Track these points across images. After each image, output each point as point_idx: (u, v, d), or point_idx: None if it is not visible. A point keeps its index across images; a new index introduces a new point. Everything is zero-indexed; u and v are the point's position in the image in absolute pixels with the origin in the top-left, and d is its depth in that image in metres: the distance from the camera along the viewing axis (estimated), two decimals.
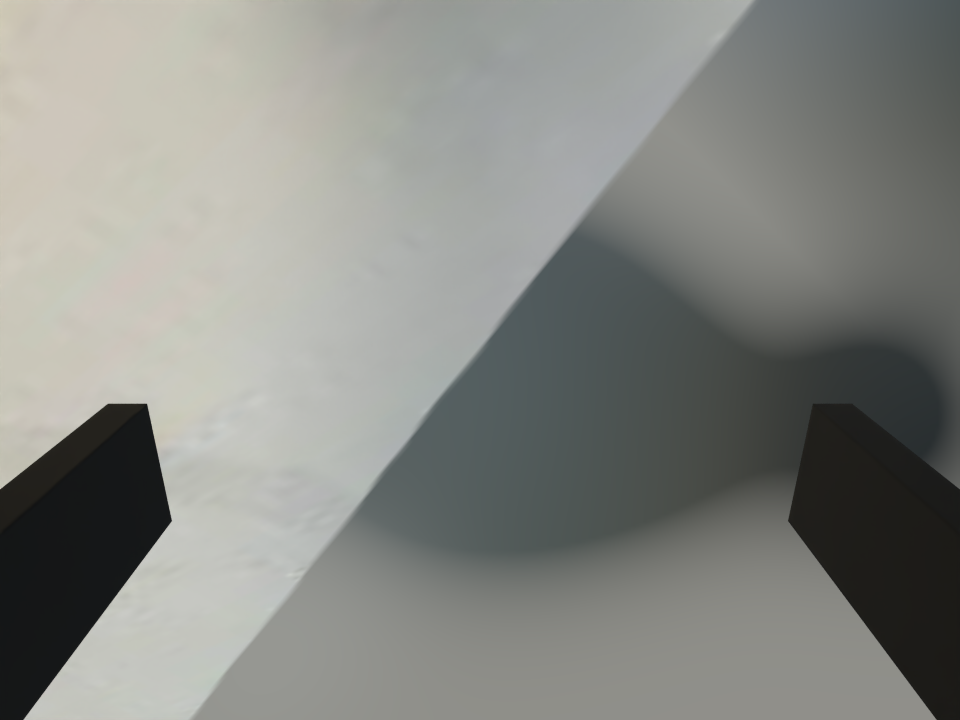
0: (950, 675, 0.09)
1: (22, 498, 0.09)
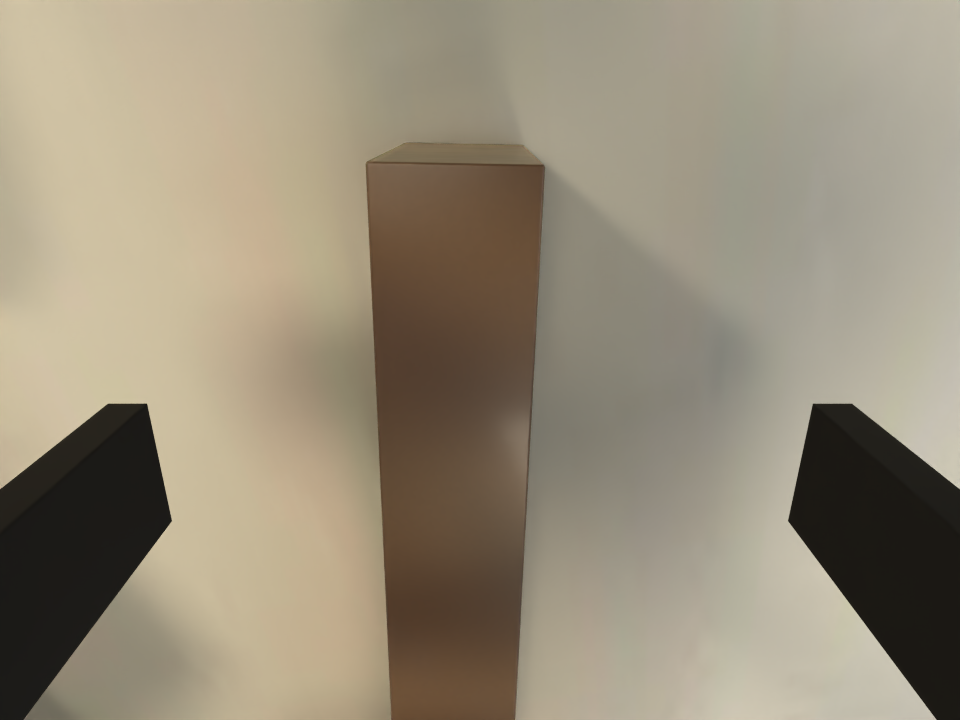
0: (950, 675, 0.09)
1: (22, 498, 0.09)
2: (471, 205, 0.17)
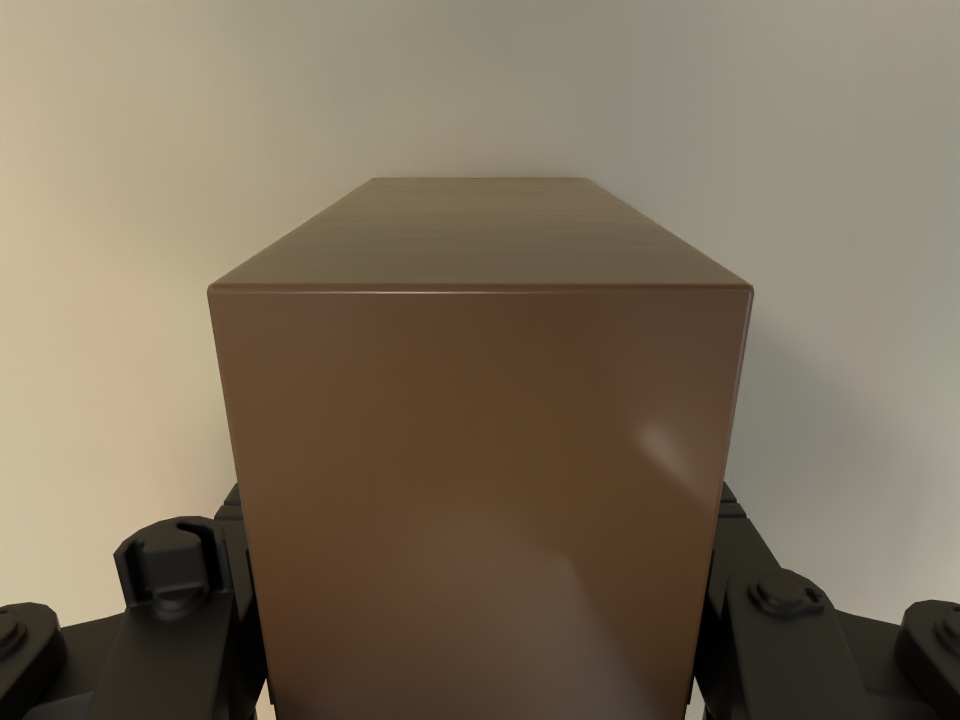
0: None
1: None
2: (529, 401, 0.06)
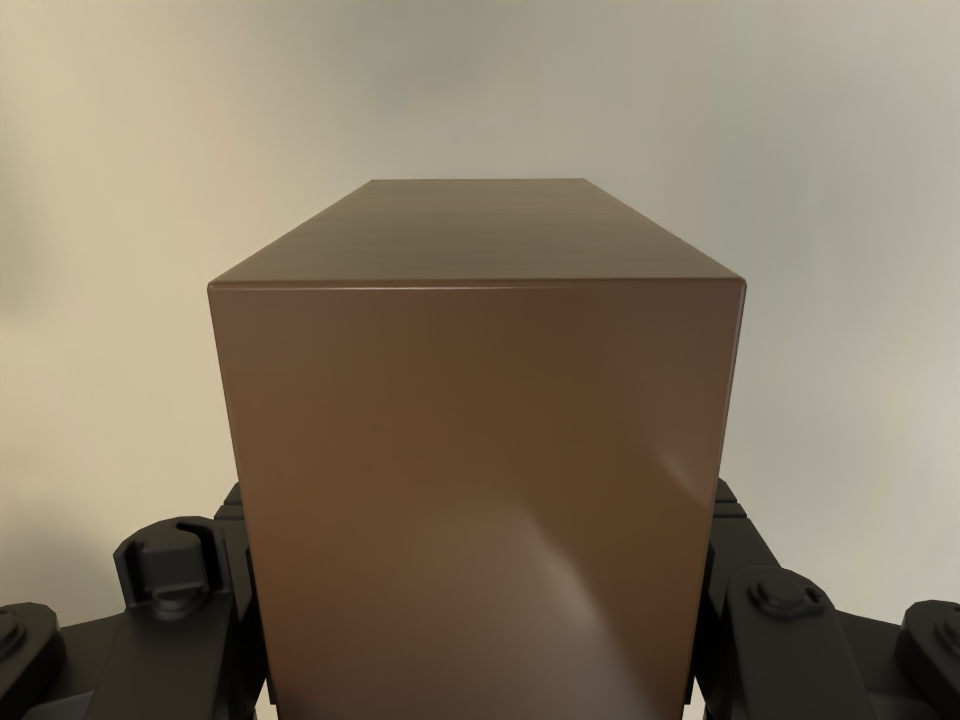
0: None
1: None
2: (526, 394, 0.06)
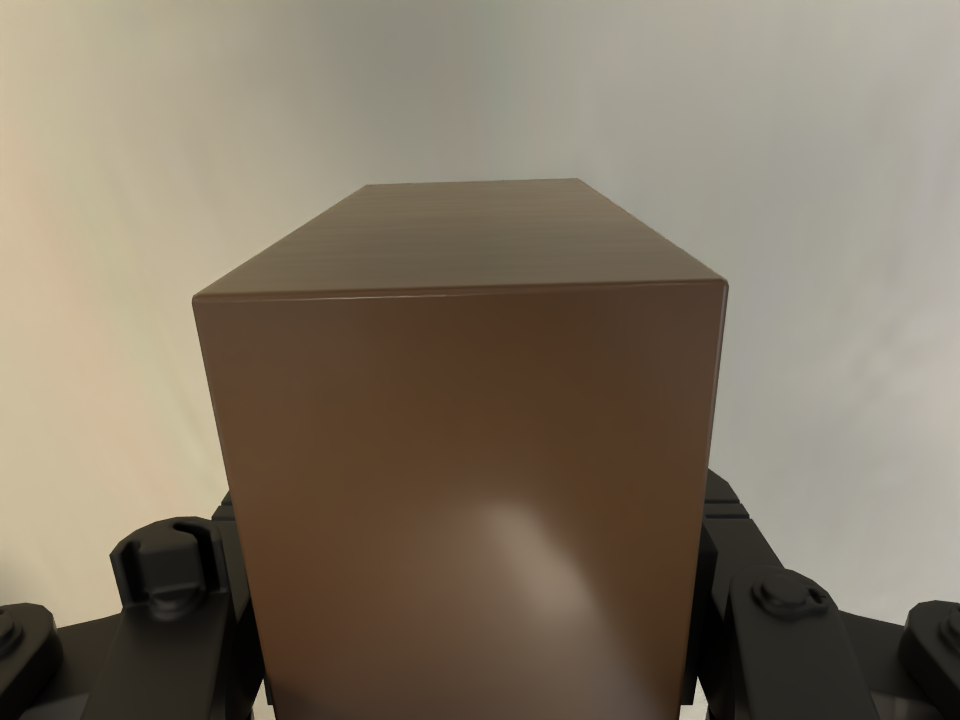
0: None
1: None
2: (511, 400, 0.06)
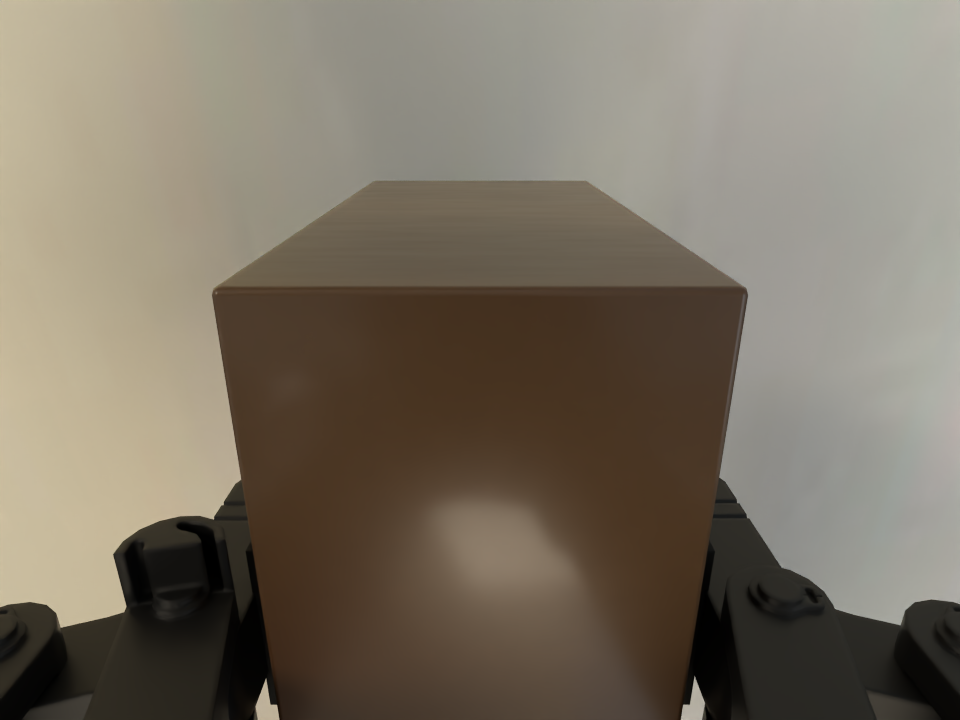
0: None
1: None
2: (528, 401, 0.06)
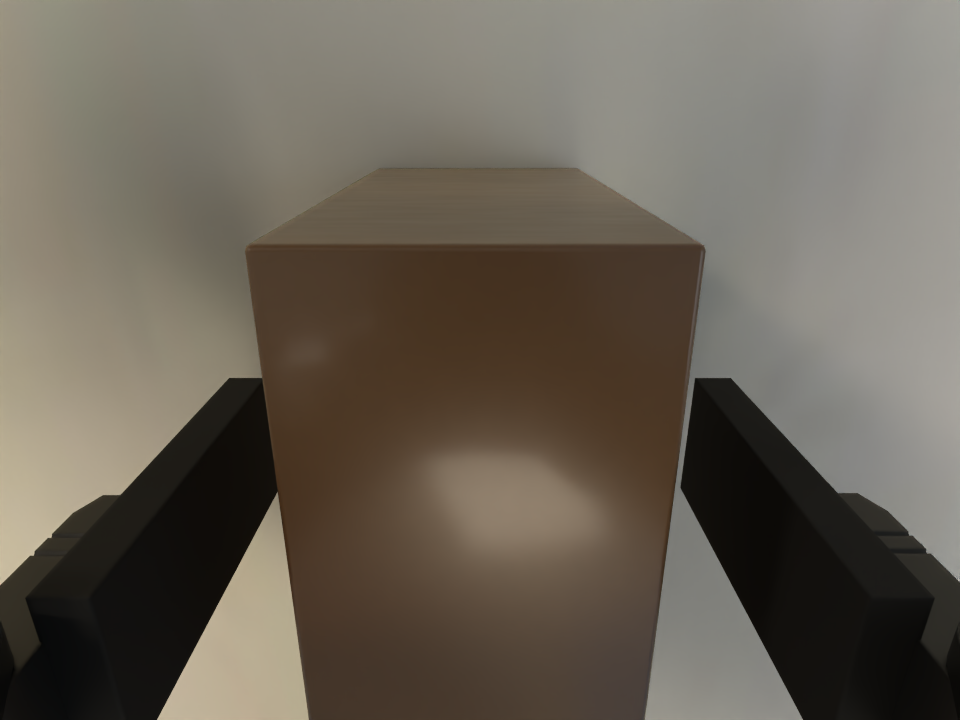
0: (773, 607, 0.10)
1: (187, 454, 0.10)
2: (516, 345, 0.07)
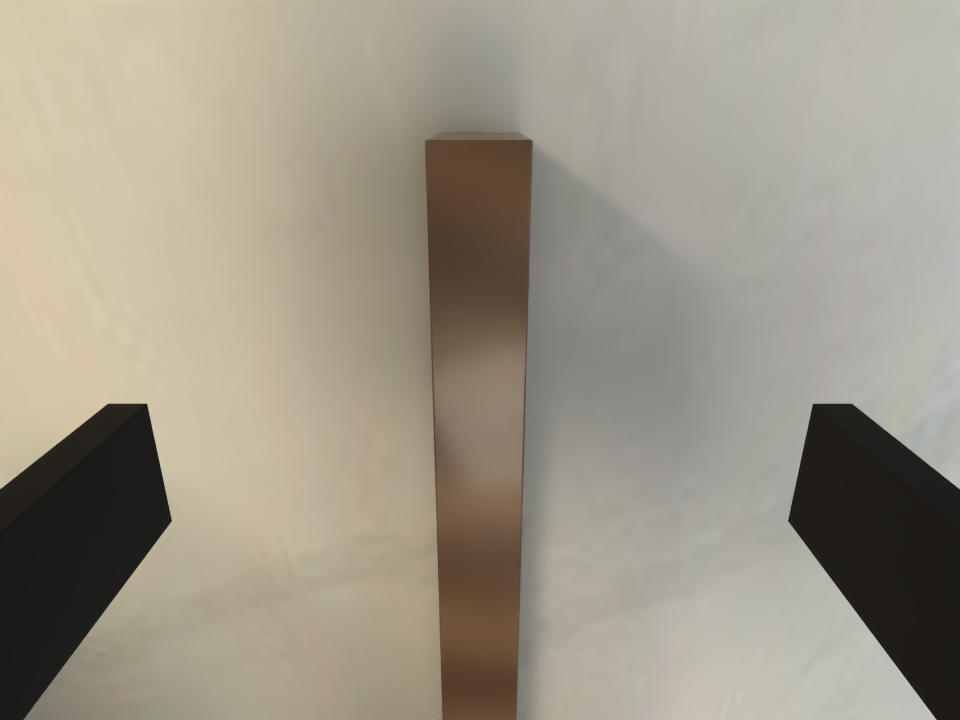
0: (951, 675, 0.09)
1: (22, 498, 0.09)
2: (488, 165, 0.27)
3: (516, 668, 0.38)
